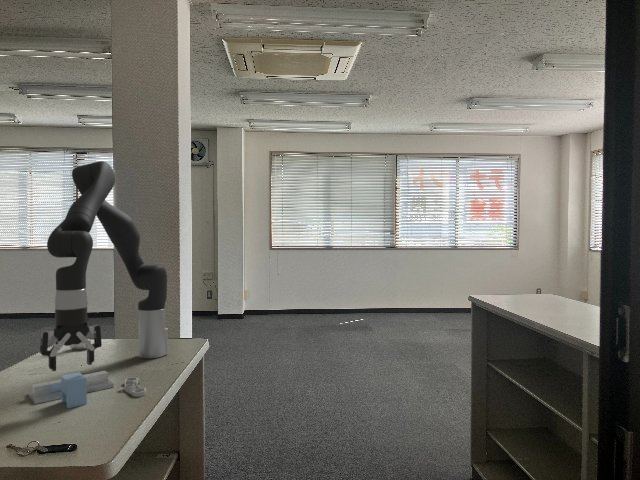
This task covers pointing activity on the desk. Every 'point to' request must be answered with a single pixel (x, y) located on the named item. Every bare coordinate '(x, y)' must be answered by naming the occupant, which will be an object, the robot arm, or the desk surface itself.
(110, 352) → the desk surface
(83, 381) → the block
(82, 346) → the valve
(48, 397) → the din rail
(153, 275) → the robot arm
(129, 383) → the bracket
